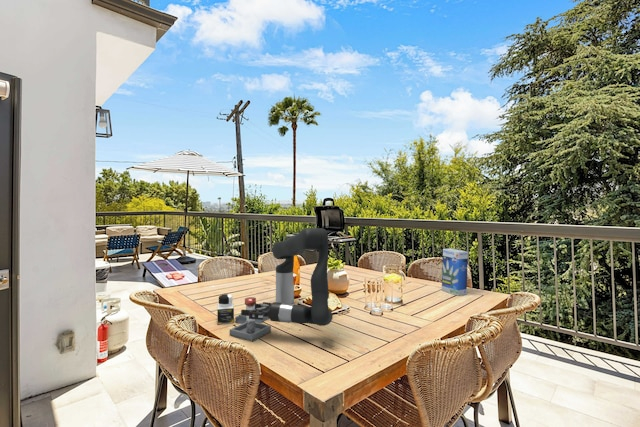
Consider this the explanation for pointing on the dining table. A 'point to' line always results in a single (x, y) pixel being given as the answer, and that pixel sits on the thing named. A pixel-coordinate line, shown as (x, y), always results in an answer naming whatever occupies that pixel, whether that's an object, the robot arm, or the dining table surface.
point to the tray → (241, 333)
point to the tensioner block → (242, 319)
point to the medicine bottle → (225, 309)
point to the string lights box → (454, 271)
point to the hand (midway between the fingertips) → (246, 309)
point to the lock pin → (250, 323)
